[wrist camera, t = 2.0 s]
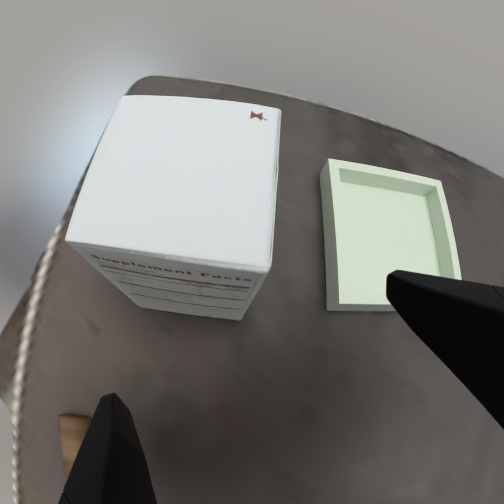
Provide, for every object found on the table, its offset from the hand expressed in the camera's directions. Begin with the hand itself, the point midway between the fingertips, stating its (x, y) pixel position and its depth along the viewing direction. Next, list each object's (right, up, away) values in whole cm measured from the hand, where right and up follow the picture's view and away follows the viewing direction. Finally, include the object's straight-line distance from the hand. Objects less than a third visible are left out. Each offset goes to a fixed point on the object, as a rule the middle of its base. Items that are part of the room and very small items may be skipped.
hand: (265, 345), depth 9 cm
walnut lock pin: (-12, -12, +8) cm, 18 cm away
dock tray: (+11, +3, +16) cm, 20 cm away
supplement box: (-4, +1, +14) cm, 15 cm away
